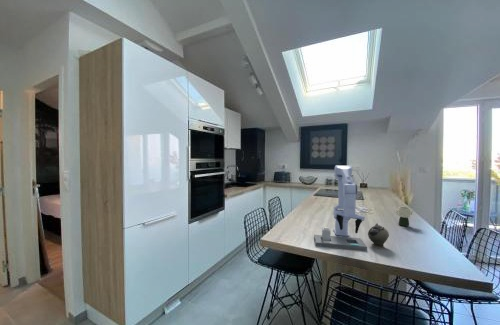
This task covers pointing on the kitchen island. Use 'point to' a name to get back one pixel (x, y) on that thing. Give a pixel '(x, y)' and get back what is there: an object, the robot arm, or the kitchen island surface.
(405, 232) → the kitchen island surface
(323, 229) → the plug block
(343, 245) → the grey mounting plate
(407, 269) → the kitchen island surface
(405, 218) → the character mug
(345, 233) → the robot arm
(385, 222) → the kitchen island surface
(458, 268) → the kitchen island surface
